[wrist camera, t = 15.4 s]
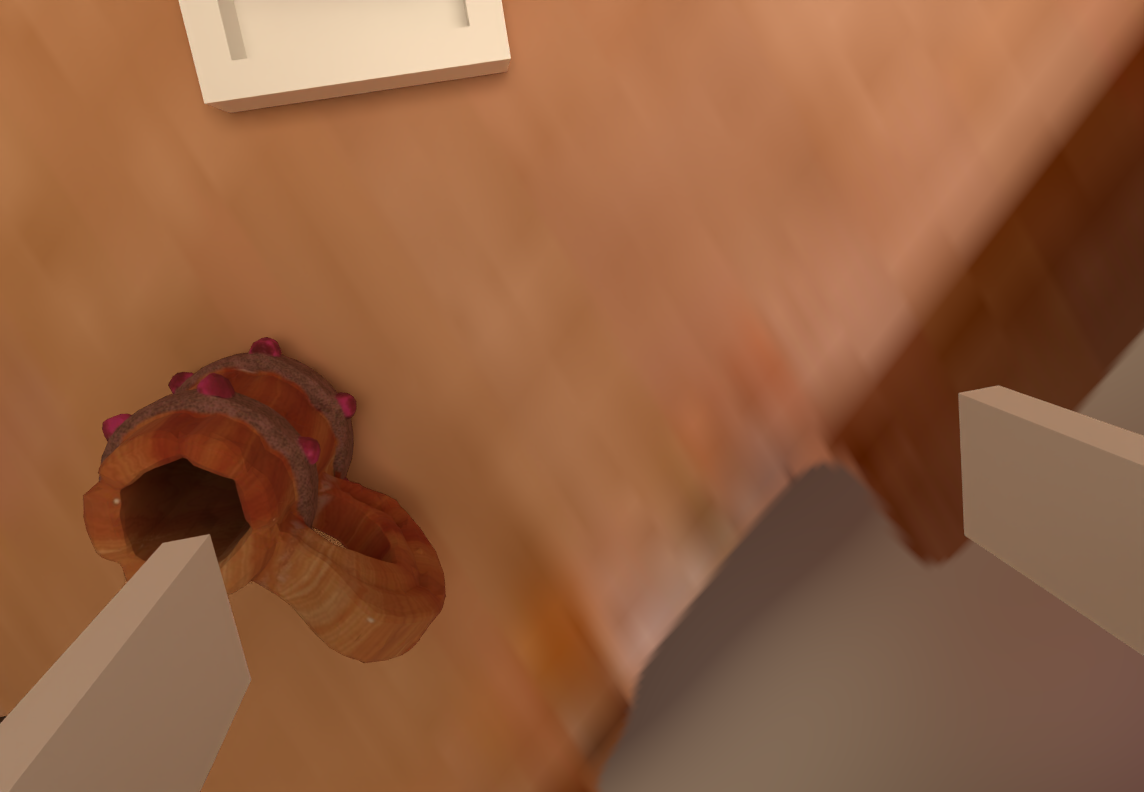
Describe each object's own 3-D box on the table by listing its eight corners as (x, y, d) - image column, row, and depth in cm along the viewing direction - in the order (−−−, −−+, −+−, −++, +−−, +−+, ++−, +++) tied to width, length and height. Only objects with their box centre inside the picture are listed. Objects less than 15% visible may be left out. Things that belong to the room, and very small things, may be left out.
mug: (149, 428, 41) (-26, 552, 27) (241, 297, 40) (111, 351, 26) (395, 581, 45) (359, 765, 30) (485, 463, 44) (492, 593, 29)
